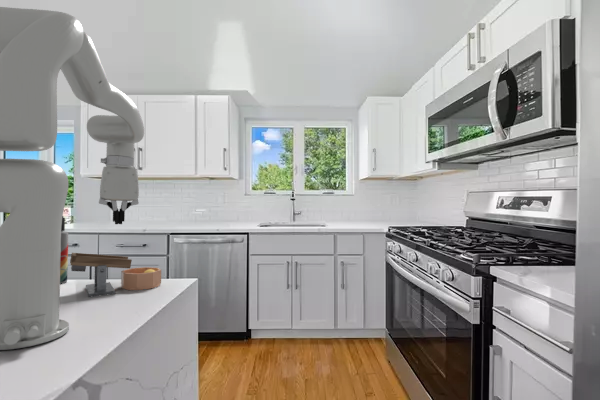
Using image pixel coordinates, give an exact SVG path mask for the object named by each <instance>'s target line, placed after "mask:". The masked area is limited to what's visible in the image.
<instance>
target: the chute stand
mask: <svg viewBox="0 0 600 400" xmlns="http://www.w3.org/2000/svg"><path fill="white" fill-rule="evenodd" d="M106 266H107V265H98V267H95V266H94V283H91V284H85V289H86V293H87V297H88V298H92V297H91V296H93V297H100V296H99V295H101V296H108V295H107V294H110V295H115V294H116V289H115V288H114V287H113V285H112V284H111V282H110V281H107V267H106Z"/></svg>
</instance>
